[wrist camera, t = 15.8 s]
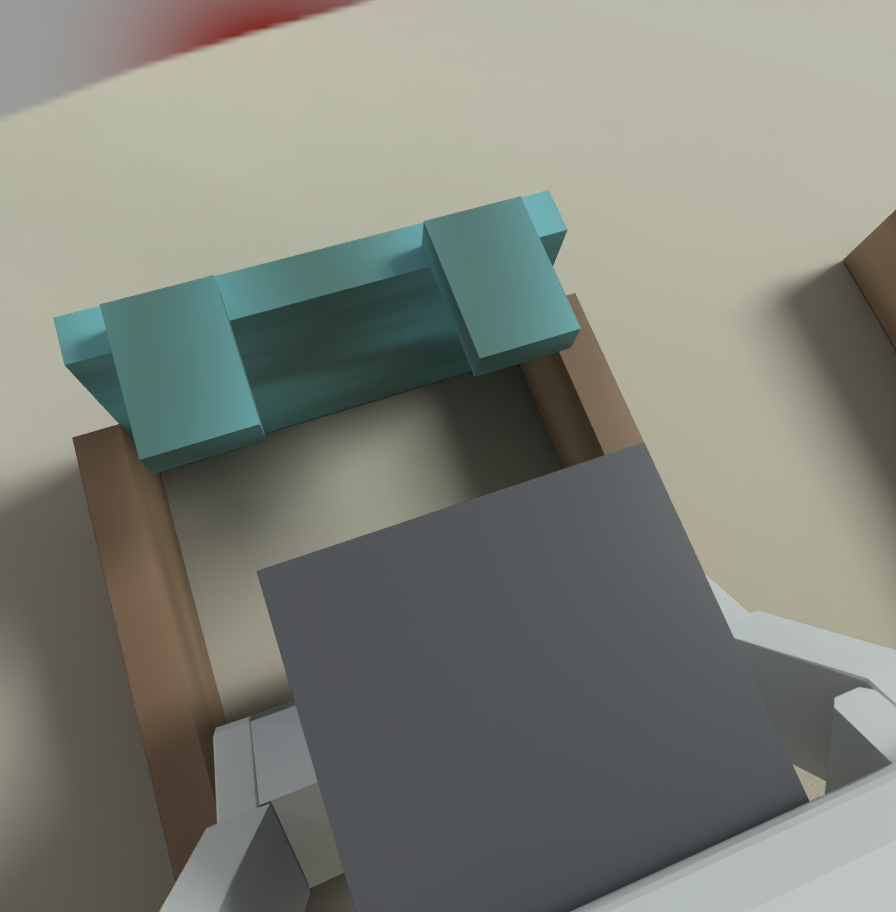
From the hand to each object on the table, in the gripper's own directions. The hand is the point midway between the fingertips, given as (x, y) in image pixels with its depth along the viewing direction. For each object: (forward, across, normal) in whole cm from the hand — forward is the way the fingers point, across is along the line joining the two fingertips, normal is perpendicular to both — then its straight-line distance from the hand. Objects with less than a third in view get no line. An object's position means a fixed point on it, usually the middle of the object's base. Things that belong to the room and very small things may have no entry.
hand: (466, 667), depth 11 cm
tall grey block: (+3, 0, +4) cm, 5 cm away
